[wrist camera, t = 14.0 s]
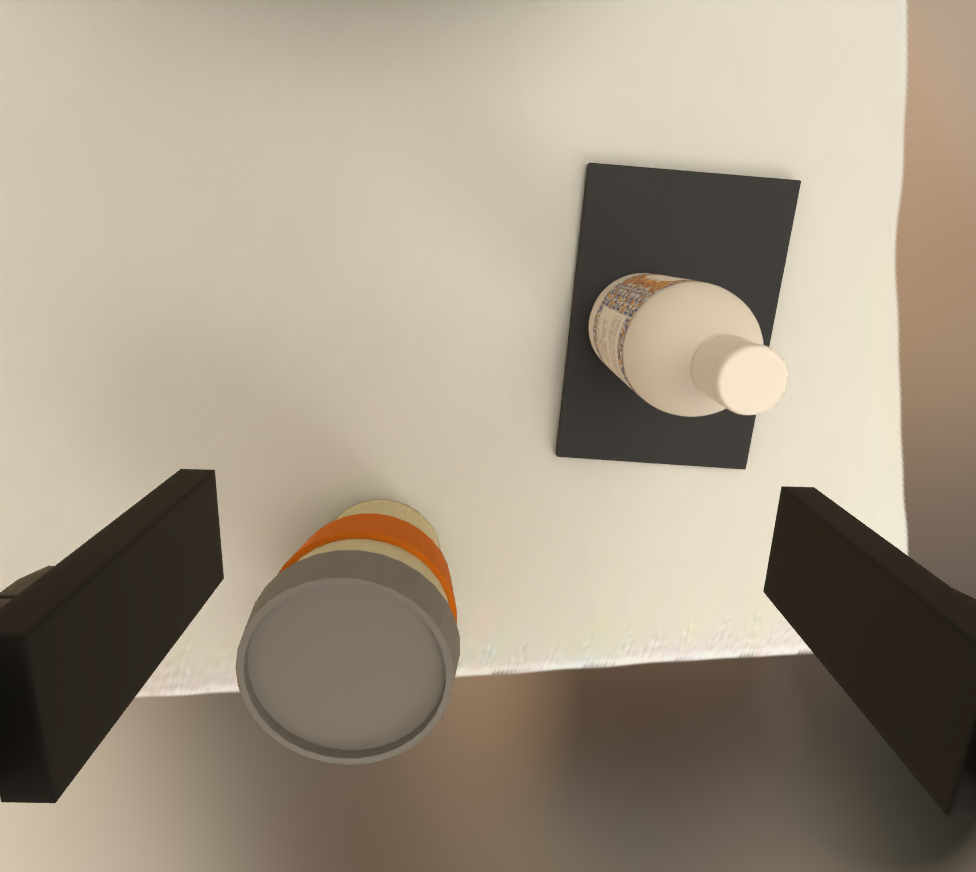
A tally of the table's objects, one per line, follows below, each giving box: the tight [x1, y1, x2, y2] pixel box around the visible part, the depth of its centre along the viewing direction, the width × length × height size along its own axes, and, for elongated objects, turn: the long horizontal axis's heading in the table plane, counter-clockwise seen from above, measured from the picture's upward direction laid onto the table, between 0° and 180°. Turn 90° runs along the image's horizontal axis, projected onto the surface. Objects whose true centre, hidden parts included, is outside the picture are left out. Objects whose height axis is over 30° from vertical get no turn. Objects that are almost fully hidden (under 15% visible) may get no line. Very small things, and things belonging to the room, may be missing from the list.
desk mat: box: [556, 163, 801, 469], centre depth 46 cm, size 20×14×1 cm
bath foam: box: [589, 273, 788, 417], centre depth 36 cm, size 7×7×20 cm
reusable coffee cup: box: [236, 500, 460, 764], centre depth 44 cm, size 13×13×15 cm
